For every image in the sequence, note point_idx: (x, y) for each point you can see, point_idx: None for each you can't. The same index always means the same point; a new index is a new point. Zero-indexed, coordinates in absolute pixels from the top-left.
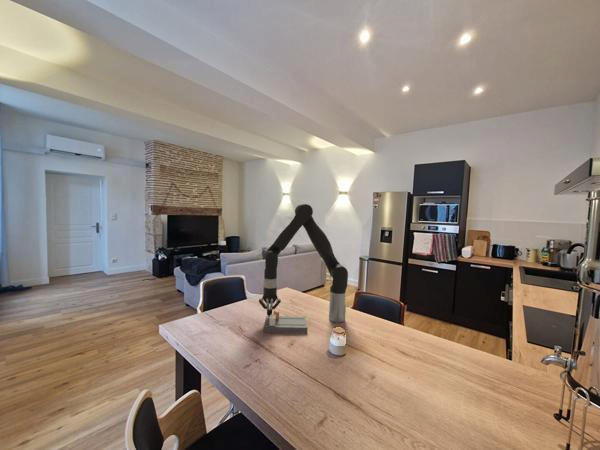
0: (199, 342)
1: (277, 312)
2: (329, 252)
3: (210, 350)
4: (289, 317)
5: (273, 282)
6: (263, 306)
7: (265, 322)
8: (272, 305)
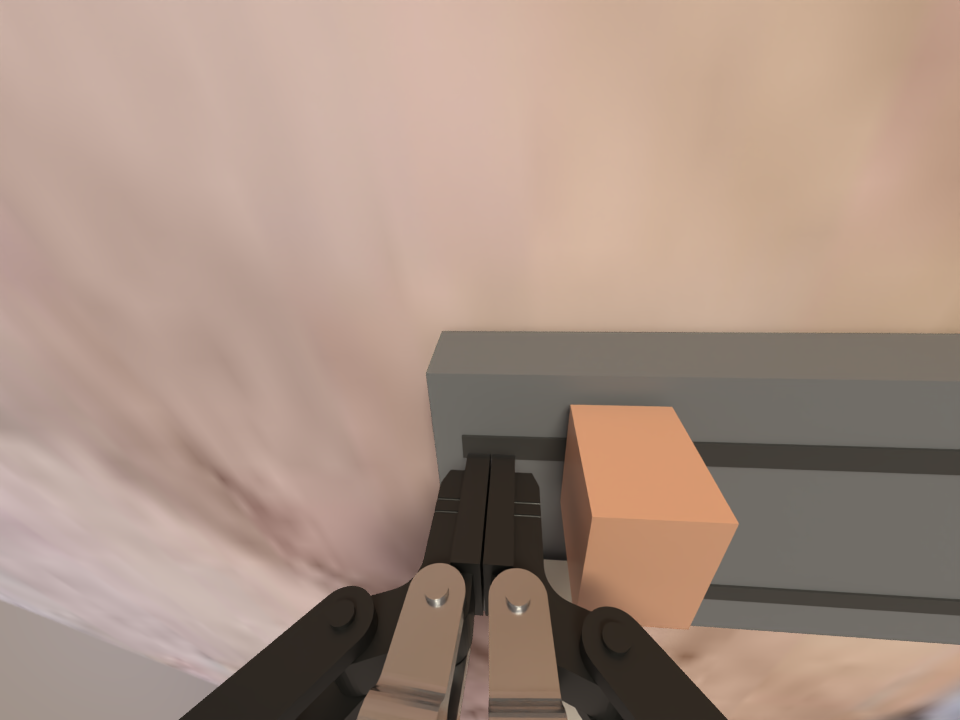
0: (98, 607)
1: (653, 620)
2: None
3: (218, 655)
4: (867, 424)
5: None
6: (317, 714)
7: None
8: (555, 692)
